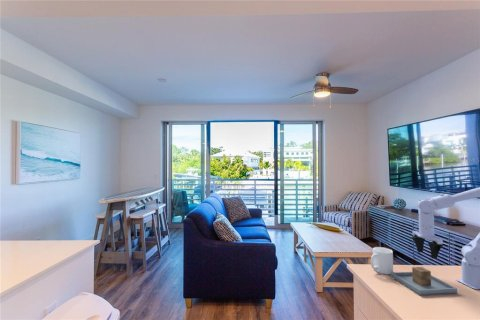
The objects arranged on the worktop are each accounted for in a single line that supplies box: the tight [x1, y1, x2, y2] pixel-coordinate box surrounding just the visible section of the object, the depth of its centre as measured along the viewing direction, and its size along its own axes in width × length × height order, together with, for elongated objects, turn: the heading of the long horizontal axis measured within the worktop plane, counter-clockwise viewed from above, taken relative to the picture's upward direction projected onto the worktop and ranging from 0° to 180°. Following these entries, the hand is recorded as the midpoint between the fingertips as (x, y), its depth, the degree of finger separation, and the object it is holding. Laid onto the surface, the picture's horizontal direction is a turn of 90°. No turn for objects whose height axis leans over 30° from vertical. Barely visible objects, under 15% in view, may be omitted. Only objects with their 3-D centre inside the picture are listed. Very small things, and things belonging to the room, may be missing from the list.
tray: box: [390, 271, 458, 297], centre depth 104 cm, size 16×16×2 cm
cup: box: [370, 246, 394, 275], centre depth 118 cm, size 8×12×10 cm
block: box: [411, 266, 432, 286], centre depth 104 cm, size 4×4×6 cm
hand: (427, 254), depth 113 cm, fingers open, 7 cm apart
